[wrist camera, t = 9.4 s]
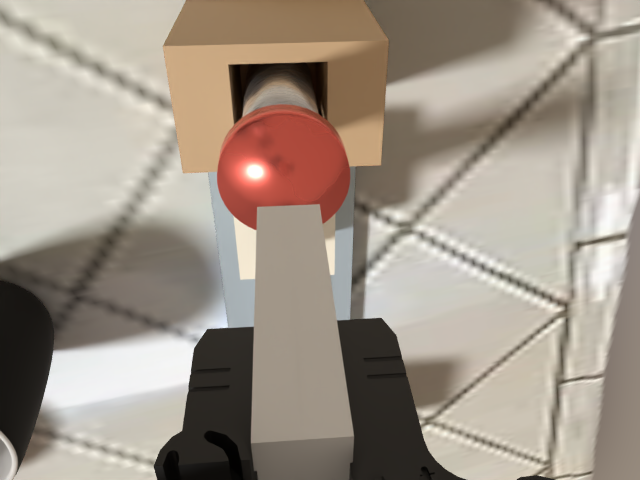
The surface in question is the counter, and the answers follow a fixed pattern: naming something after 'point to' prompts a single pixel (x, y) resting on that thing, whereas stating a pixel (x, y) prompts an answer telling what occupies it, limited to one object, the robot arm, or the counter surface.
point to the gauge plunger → (281, 147)
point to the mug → (21, 371)
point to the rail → (228, 97)
